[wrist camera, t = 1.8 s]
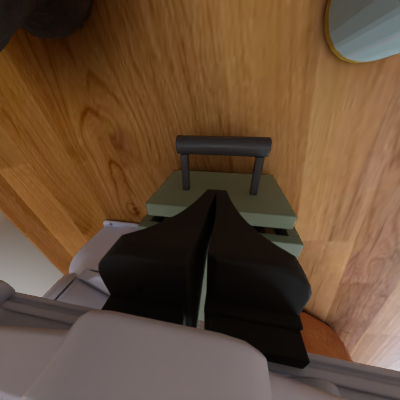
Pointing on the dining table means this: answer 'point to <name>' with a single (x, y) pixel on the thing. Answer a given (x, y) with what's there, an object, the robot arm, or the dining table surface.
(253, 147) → the drawer
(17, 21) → the jug
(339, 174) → the dining table surface
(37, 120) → the dining table surface
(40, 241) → the dining table surface
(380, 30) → the bottle
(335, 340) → the bread
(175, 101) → the dining table surface
